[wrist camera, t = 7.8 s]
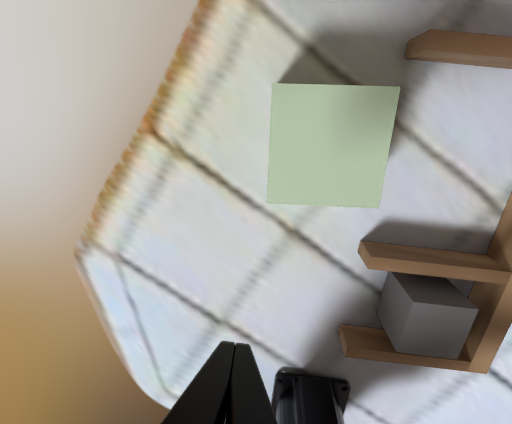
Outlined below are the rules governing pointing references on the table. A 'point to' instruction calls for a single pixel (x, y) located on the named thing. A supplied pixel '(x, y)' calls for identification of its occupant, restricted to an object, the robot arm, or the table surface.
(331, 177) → the sage green block
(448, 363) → the walnut slot rack
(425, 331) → the slate grey cube
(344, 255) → the table surface
